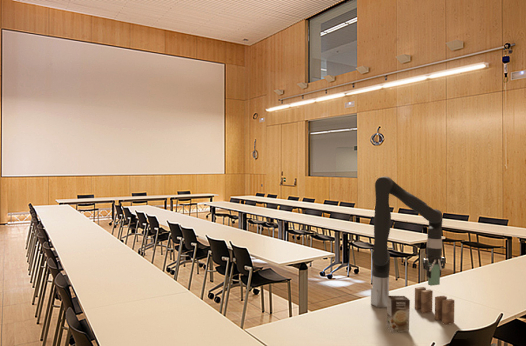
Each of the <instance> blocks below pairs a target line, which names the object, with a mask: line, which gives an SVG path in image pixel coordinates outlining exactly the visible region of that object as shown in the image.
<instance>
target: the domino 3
mask: <svg viewBox="0 0 526 346" xmlns="http://www.w3.org/2000/svg"><path fill="white" fill-rule="evenodd" d="M428 265H432V264H431V263H428ZM429 268H430V266H429ZM427 280H428V282H427V284H428V286H430V287H432V286H438V285H441V283H440V281H441V277H440V268H439V265H438V264H437V265H434V266H433V268H432V269H431V278H428V277H427Z"/></svg>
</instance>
